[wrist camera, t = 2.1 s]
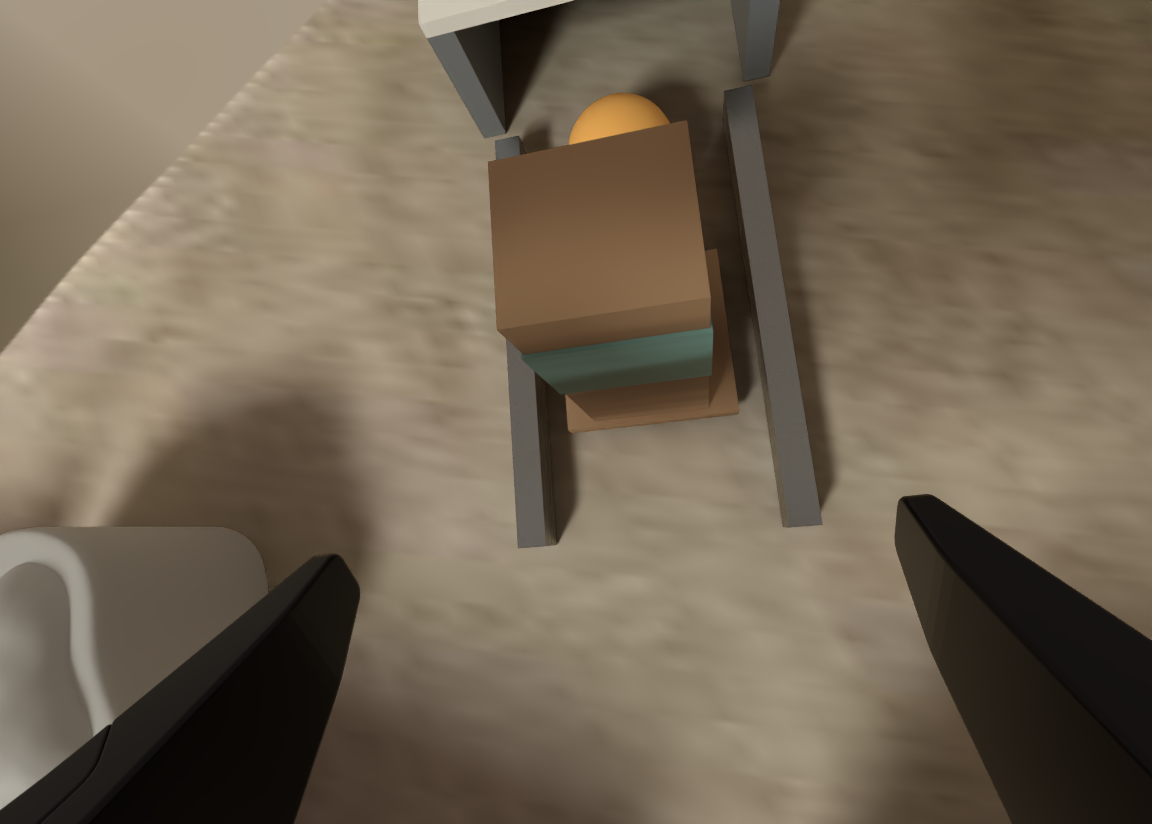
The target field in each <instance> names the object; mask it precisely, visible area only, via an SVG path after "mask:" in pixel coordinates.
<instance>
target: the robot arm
mask: <svg viewBox="0 0 1152 824" xmlns="http://www.w3.org/2000/svg"><path fill="white" fill-rule="evenodd" d="M895 547H896V551H897V555H898V557H899V560H900V563H901V566H902V569H903V572H904V575H905V578H906V581H907V584H908V587H909V590H910V593H911V596H912V599H913V602H914V605H915V608H916V611H917V614H918V617H919V619H920V622H921V625H922V628H923V631H924V634H925V637H926V640H927V643H928V645H929V648H930V651H931V653H932V655H933V658H934V660H935V662H936V664H937V667H938V669H939V671H940V673H941V675H942V677H943V679H944V681H945V684H946V686H947V688H948V690H949V692H950V694H951V696H952V698H953V700H954V703H955V705H956V707H957V709H958V711H959V713H960V715H961V717H962V719H963V722H964V724H965V726H966V728H967V730H968V732H969V734H970V736H971V738H972V741H973V743H974V745H975V747H976V749H977V751H978V753H979V755H980V757H981V759H982V762H983V764H984V766H985V768H986V770H987V772H988V774H989V776H990V778H991V781H992V783H993V785H994V787H995V789H996V791H997V793H998V795H999V797H1000V800H1001V802H1002V804H1003V806H1004V808H1005V810H1006V812H1007V814H1008V816H1009V818H1010V821H1011V823H1012V824H1152V640H1150V639H1149V638H1147V637H1146V636H1144V635H1143V634H1141V633H1140V632H1138V631H1137V630H1135V629H1134V628H1132V627H1131V626H1129V625H1128V624H1126V623H1125V622H1123V621H1122V620H1120V619H1119V618H1117V617H1116V616H1114V615H1113V614H1111V613H1110V612H1108V611H1107V610H1105V609H1104V608H1102V607H1101V606H1099V605H1098V604H1096V603H1095V602H1093V601H1092V600H1090V599H1089V598H1087V597H1086V596H1084V595H1083V594H1081V593H1080V592H1078V591H1077V590H1075V589H1074V588H1072V587H1071V586H1069V585H1068V584H1066V583H1065V582H1063V581H1062V580H1060V579H1059V578H1057V577H1056V576H1054V575H1053V574H1051V573H1050V572H1048V571H1047V570H1045V569H1044V568H1042V567H1041V566H1039V565H1038V564H1036V563H1035V562H1033V561H1032V560H1030V559H1029V558H1027V557H1026V556H1024V555H1023V554H1021V553H1020V552H1018V551H1017V550H1015V549H1014V548H1012V547H1011V546H1009V545H1007V544H1006V543H1004V542H1003V541H1001V540H1000V539H998V538H997V537H995V536H994V535H992V534H991V533H989V532H988V531H986V530H985V529H983V528H982V527H980V526H979V525H977V524H976V523H974V522H973V521H971V520H970V519H968V518H967V517H965V516H964V515H962V514H961V513H959V512H958V511H956V510H955V509H953V508H952V507H950V506H949V505H947V504H946V503H944V502H943V501H941V500H940V499H938V498H937V497H935V496H933V495H930V494H923V495H913V496H904V497H902V498H900V500H899V502H898V506H897V516H896V526H895ZM359 600H360V588H359V584H358V582H357V581H356V579H355V577H354V576H353V574H352V572H351V571H350V569H349V568H348V566H347V564H346V563H345V561H344V560H343V558H342V557H341V556H340V555H338V554H324V555H317V556H314V557H312V558H311V559H309V560H308V561H307V562H306V563H305V564H303V565H302V566H301V567H300V568H298V569H297V570H296V571H295V572H294V573H292V574H291V575H290V576H289V577H287V578H286V579H285V580H284V581H283V582H281V583H280V584H279V585H278V586H277V587H275V588H274V589H273V590H272V591H270V592H269V593H268V594H267V595H266V596H264V597H263V598H262V599H261V600H259V601H258V602H257V603H256V604H255V605H253V606H252V607H251V608H250V609H248V610H247V611H246V612H245V613H244V614H242V615H241V616H240V617H239V618H238V619H236V620H235V621H234V622H233V623H231V624H230V625H229V626H228V627H227V628H225V629H224V630H223V631H222V632H220V633H219V634H218V635H217V636H216V637H214V638H213V639H212V640H211V641H209V642H208V643H207V644H206V645H205V646H203V647H202V648H201V649H200V650H199V651H197V652H196V653H195V654H194V655H192V656H191V657H190V658H189V659H188V660H186V661H185V662H184V663H183V664H181V665H180V666H179V667H178V668H177V669H175V670H174V671H173V672H172V673H171V674H169V675H168V676H167V677H166V678H164V679H163V680H162V681H161V682H160V683H158V684H157V685H156V686H155V687H153V688H152V689H151V690H150V691H149V692H147V693H146V694H145V695H144V696H142V697H141V698H140V699H139V700H138V701H136V702H135V703H134V704H133V705H132V706H130V707H129V708H128V709H127V710H125V711H124V712H123V713H122V714H121V715H119V716H118V717H117V718H116V719H115V720H114V721H113V723H112V724H109V725H107V726H106V727H104V728H103V729H102V730H101V731H100V732H98V733H97V734H96V735H95V736H94V737H92V738H91V739H90V740H89V741H88V742H86V743H85V744H84V745H83V746H81V747H80V748H79V749H78V750H76V751H75V752H74V753H73V754H71V755H70V756H69V757H68V758H66V759H65V760H64V761H63V762H61V763H60V764H59V765H58V766H56V767H55V768H54V769H53V770H51V771H50V772H49V773H48V774H46V775H45V776H44V777H43V778H41V779H40V780H39V781H37V782H36V783H35V784H33V785H32V786H31V787H29V788H28V789H27V790H26V791H24V792H23V793H22V794H20V795H19V796H18V797H16V798H15V799H14V800H12V801H11V802H10V803H8V804H7V805H6V806H5V807H3V808H2V809H1V810H0V824H294V822H295V819H296V816H297V813H298V810H299V807H300V804H301V801H302V798H303V795H304V792H305V789H306V786H307V783H308V780H309V777H310V774H311V771H312V768H313V765H314V762H315V759H316V756H317V753H318V750H319V747H320V744H321V741H322V738H323V735H324V732H325V729H326V726H327V723H328V720H329V717H330V714H331V711H332V707H333V704H334V701H335V698H336V695H337V692H338V689H339V685H340V682H341V678H342V674H343V670H344V666H345V662H346V657H347V653H348V649H349V644H350V640H351V635H352V631H353V626H354V622H355V618H356V613H357V609H358V604H359Z"/></svg>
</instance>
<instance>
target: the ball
mask: <svg viewBox="0 0 1152 824" xmlns="http://www.w3.org/2000/svg"><path fill="white" fill-rule="evenodd" d="M665 124H670V123H669V121H668V119H667V117H666V116H665V115H664V113H663V112H662V111H661V109H660V108H659V107H657V106H656V105H655V104H654V103H653V102H651V101H650V100H648V99H646V98H644V97H642V96H639V95H636V94H631V93H616V94H611V95H608V96H605V97H603V98H600V99H599V100H597V101H595V102H594V103H592V104H591V105H590V106H589V107H587V108H586V110H585V111H584V112H583V113H582V114H581V115H580V117H579V118H578V119H577V121H576V123H575V125H574V127H573V130H572V132H571V135H570V139H569V144H568V145H570V144H575V143H580V142H585V141H589V140H594V139H599V138H604V137H608V136H613V135H618V134H623V133H627V132H632V131H637V130H642V129H646V128H651V127H656V126H661V125H665Z"/></svg>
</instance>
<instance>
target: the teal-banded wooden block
mask: <svg viewBox="0 0 1152 824" xmlns="http://www.w3.org/2000/svg"><path fill="white" fill-rule="evenodd" d="M488 172H489V191H490V210H491V228H492V247H493V266H494V285H495V303H496V322H497V330H498V331H499V332H500V333H501V334H502V335H503V336H504V337H505V338H506V339H507V340H508V341H509V342H510V343H511V344H513V345H514V346H515V347H516V348H517V349H518V350H519V351H520V352H521V359H522V360H523V361H524V362H525V363H526V364H527V365H528V366H529V367H530V368H532V369H533V370H534V371H535V372H536V373H537V374H538V375H539V376H540V377H542V378H543V379H544V380H545V381H546V382H547V383H548V384H549V385H550V386H552V387H553V388H554V389H555V390H556V391H557V392H558V393H559V394H560V395H561V394H565V397H566V410H567V423H568V430H569V431H570V432H571V433H577V432H586V431H595V430H603V429H612V428H621V427H630V426H638V425H647V424H656V423H665V422H673V421H682V420H691V419H700V418H708V417H717V416H726V415H735V414H738V413H739V405H738V398H737V391H736V383H735V376H734V369H733V362H732V354H731V347H730V340H729V333H728V325H727V318H726V311H725V304H724V296H723V289H722V282H721V275H720V267H719V260H718V253H717V249H711V250H705V251H704V243H703V236H702V228H701V221H700V213H699V206H698V198H697V191H696V183H695V175H694V168H693V160H692V153H691V145H690V138H689V130H688V123H687V120H684V121H680V122H675V123H670V124H665V125H661V126H656V127H651V128H646V129H642V130H637V131H632V132H627V133H623V134H618V135H613V136H608V137H604V138H599V139H594V140H589V141H585V142H580V143H575V144H570V145H566V146H561V147H556V148H551V149H547V150H542V151H537V152H532V153H528V154H523V155H518V156H513V157H509V158H504V159H499V160H494V161H490V162H488Z"/></svg>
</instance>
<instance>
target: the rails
mask: <svg viewBox="0 0 1152 824" xmlns="http://www.w3.org/2000/svg"><path fill="white" fill-rule="evenodd" d="M723 123H724V130H725V137H726V144H727V151H728V157H729V164H730V171H731V178H732V184H733V191H734V198H735V205H736V212H737V218H738V225H739V232H740V239H741V246H742V252H743V259H744V266H745V273H746V280H747V286H748V293H749V300H750V307H751V313H752V320H753V327H754V334H755V341H756V347H757V354H758V361H759V368H760V375H761V381H762V388H763V395H764V402H765V408H766V415H767V422H768V429H769V436H770V442H771V449H772V456H773V463H774V470H775V476H776V483H777V490H778V497H779V504H780V510H781V517H782V524H783V527H800V526H812V525H822V518H821V512H820V506H819V500H818V494H817V487H816V481H815V475H814V469H813V463H812V456H811V450H810V444H809V438H808V431H807V425H806V419H805V413H804V407H803V400H802V394H801V388H800V382H799V376H798V369H797V363H796V357H795V351H794V344H793V338H792V332H791V326H790V320H789V313H788V307H787V301H786V295H785V289H784V282H783V276H782V270H781V264H780V257H779V251H778V245H777V239H776V233H775V226H774V220H773V214H772V208H771V202H770V195H769V189H768V183H767V177H766V170H765V164H764V158H763V152H762V146H761V139H760V133H759V127H758V121H757V115H756V108H755V102H754V96H753V90H752V85H749V86H745V87H740V88H736V89H731V90H726V91H724V105H723ZM495 150H496V160H499V159H504V158H509V157H513V156H518V155H523V154H527V152H526V150H525V148H524V145H523V143H522V141H521V139H520V137H519V136H515V137H510V138H506V139H501V140H496V141H495ZM506 345H507V363H508V380H509V398H510V416H511V433H512V451H513V469H514V487H515V504H516V522H517V540H518V548H528V547H541V546H551V545H557V535H556V521H555V507H554V493H553V478H552V464H551V450H550V435H549V421H548V407H547V392H546V381H545V380H544V379H543V378H542V377H540V376H539V375H538V374H537V373H536V372H535V371H534V370H533V369H532V368H530V367H529V366H528V365H527V364H526V363H525V362H524V361H523V360H522V359H521V352H520V351H519V350H518V349H517V348H516V347H515V346H514V345H513V344H511V343H510V342H509V341H508V340H507V339H506Z"/></svg>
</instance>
